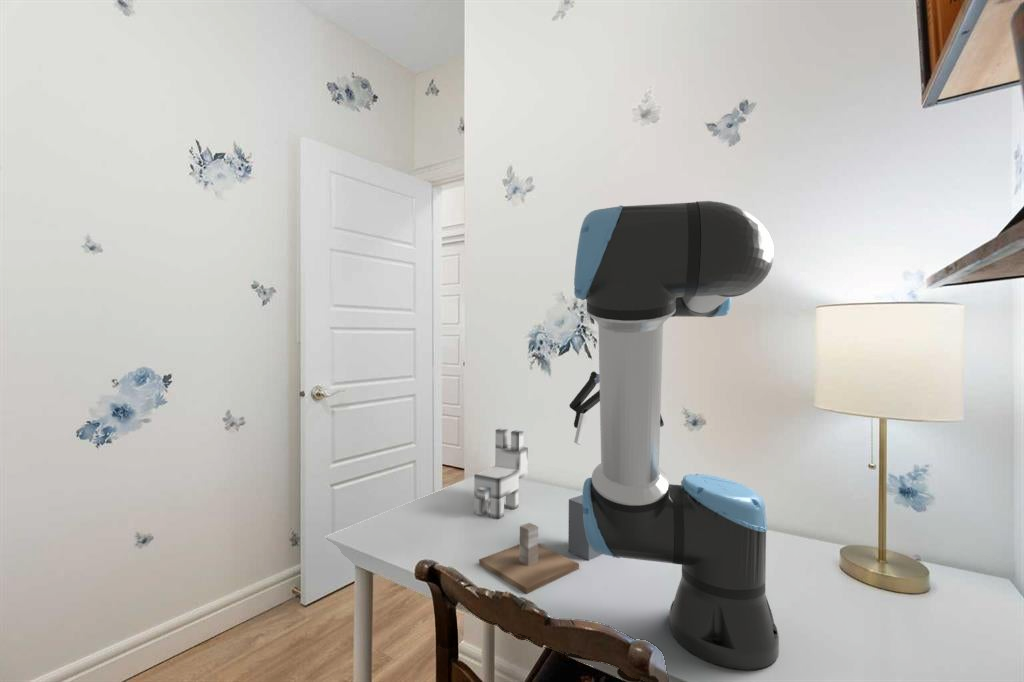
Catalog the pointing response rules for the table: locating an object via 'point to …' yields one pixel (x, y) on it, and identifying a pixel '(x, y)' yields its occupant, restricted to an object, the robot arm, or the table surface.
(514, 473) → the toy llama
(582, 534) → the gray upright pillar
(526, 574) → the post
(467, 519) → the table surface
